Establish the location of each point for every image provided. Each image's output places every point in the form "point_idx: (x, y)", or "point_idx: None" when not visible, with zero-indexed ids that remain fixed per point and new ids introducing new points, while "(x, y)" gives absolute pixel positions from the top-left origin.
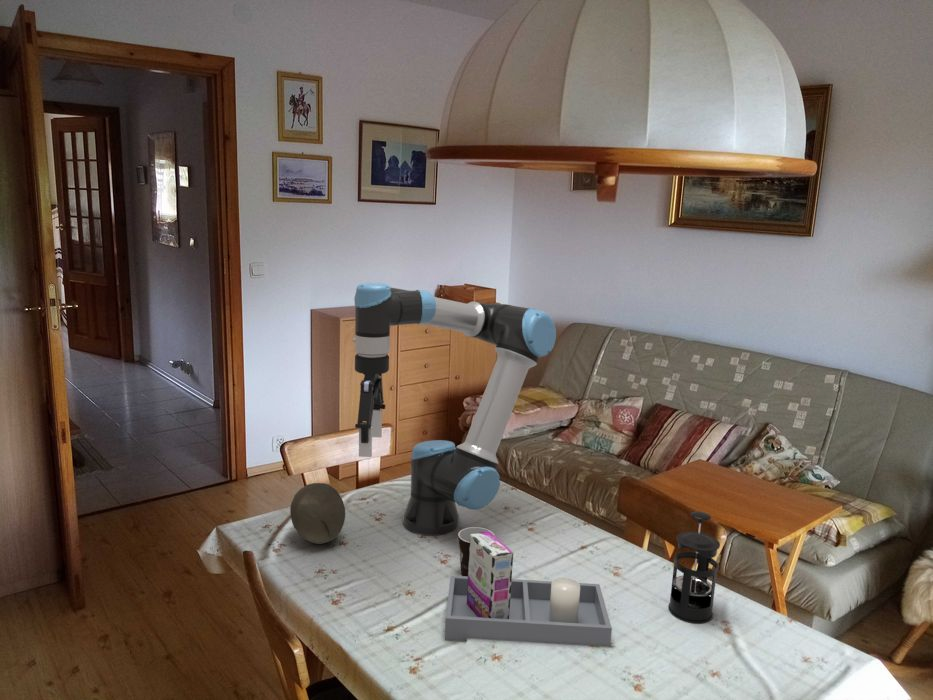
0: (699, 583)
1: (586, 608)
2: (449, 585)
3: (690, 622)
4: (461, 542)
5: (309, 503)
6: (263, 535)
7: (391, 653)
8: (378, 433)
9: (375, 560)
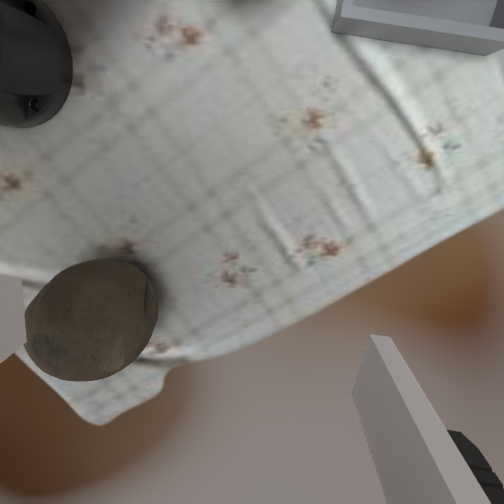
0: None
1: None
2: (384, 23)
3: None
4: None
5: (122, 353)
6: None
7: (498, 156)
8: (1, 306)
9: (190, 186)
